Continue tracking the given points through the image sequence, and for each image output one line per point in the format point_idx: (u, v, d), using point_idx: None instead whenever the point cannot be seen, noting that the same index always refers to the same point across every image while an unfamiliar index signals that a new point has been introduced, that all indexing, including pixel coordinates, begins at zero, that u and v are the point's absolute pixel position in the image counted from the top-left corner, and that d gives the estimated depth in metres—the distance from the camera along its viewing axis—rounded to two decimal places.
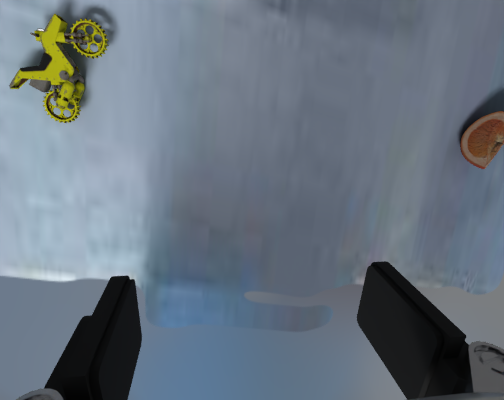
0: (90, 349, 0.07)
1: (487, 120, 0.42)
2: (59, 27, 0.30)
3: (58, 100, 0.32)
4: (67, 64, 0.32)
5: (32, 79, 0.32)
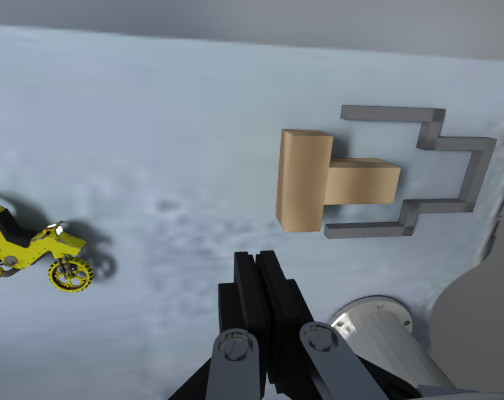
0: (256, 302, 0.09)
1: None
2: (68, 253, 0.26)
3: None
4: (27, 262, 0.26)
5: None
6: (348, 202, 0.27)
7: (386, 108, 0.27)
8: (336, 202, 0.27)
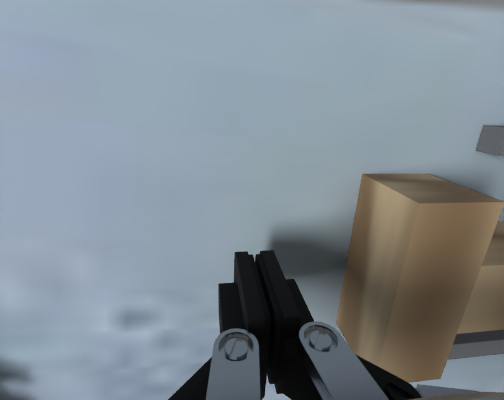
0: (256, 302, 0.09)
1: None
2: None
3: None
4: None
5: None
6: None
7: None
8: (481, 327, 0.13)
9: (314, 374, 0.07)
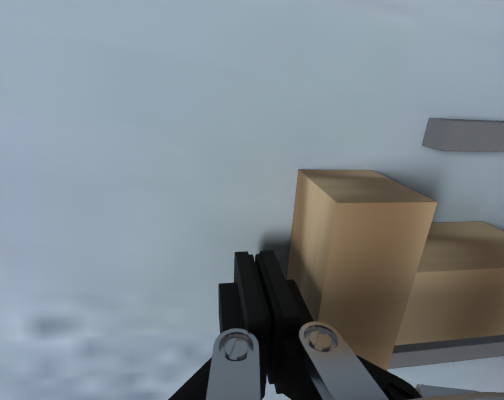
0: (256, 302, 0.09)
1: None
2: None
3: None
4: None
5: None
6: (447, 338, 0.12)
7: None
8: (421, 338, 0.12)
9: (314, 374, 0.07)
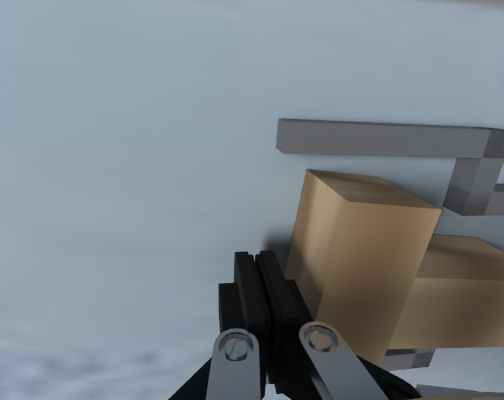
0: (256, 302, 0.09)
1: None
2: None
3: None
4: None
5: None
6: (437, 345, 0.12)
7: (381, 128, 0.11)
8: (413, 344, 0.12)
9: (314, 374, 0.07)
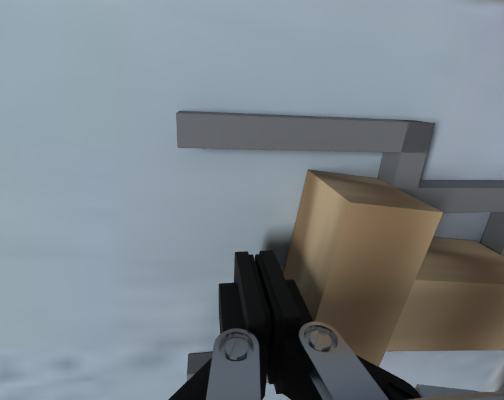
0: (257, 302, 0.09)
1: None
2: None
3: None
4: None
5: None
6: (435, 348, 0.12)
7: (284, 120, 0.11)
8: (412, 346, 0.12)
9: (314, 374, 0.07)
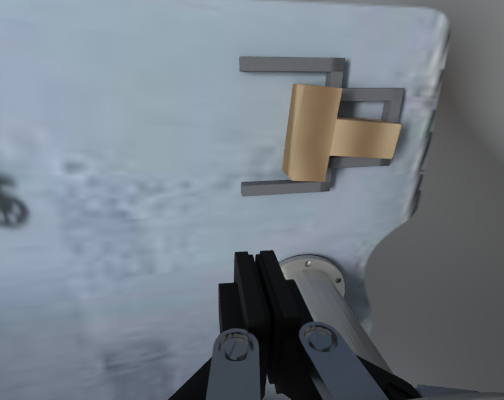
0: (256, 302, 0.09)
1: None
2: None
3: None
4: None
5: None
6: (352, 155, 0.29)
7: (282, 58, 0.27)
8: (341, 153, 0.29)
9: (314, 374, 0.07)
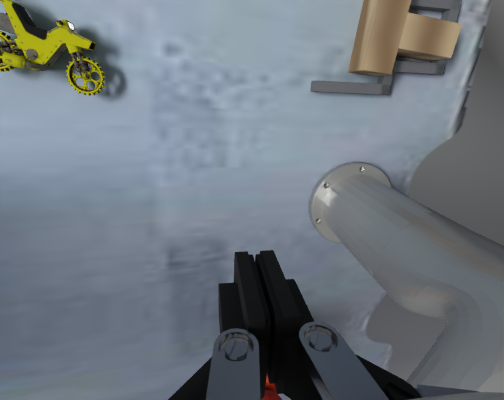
0: (256, 302, 0.09)
1: None
2: (80, 46, 0.29)
3: None
4: (46, 57, 0.29)
5: (8, 17, 0.27)
6: (417, 50, 0.33)
7: None
8: (408, 47, 0.33)
9: (314, 374, 0.07)
